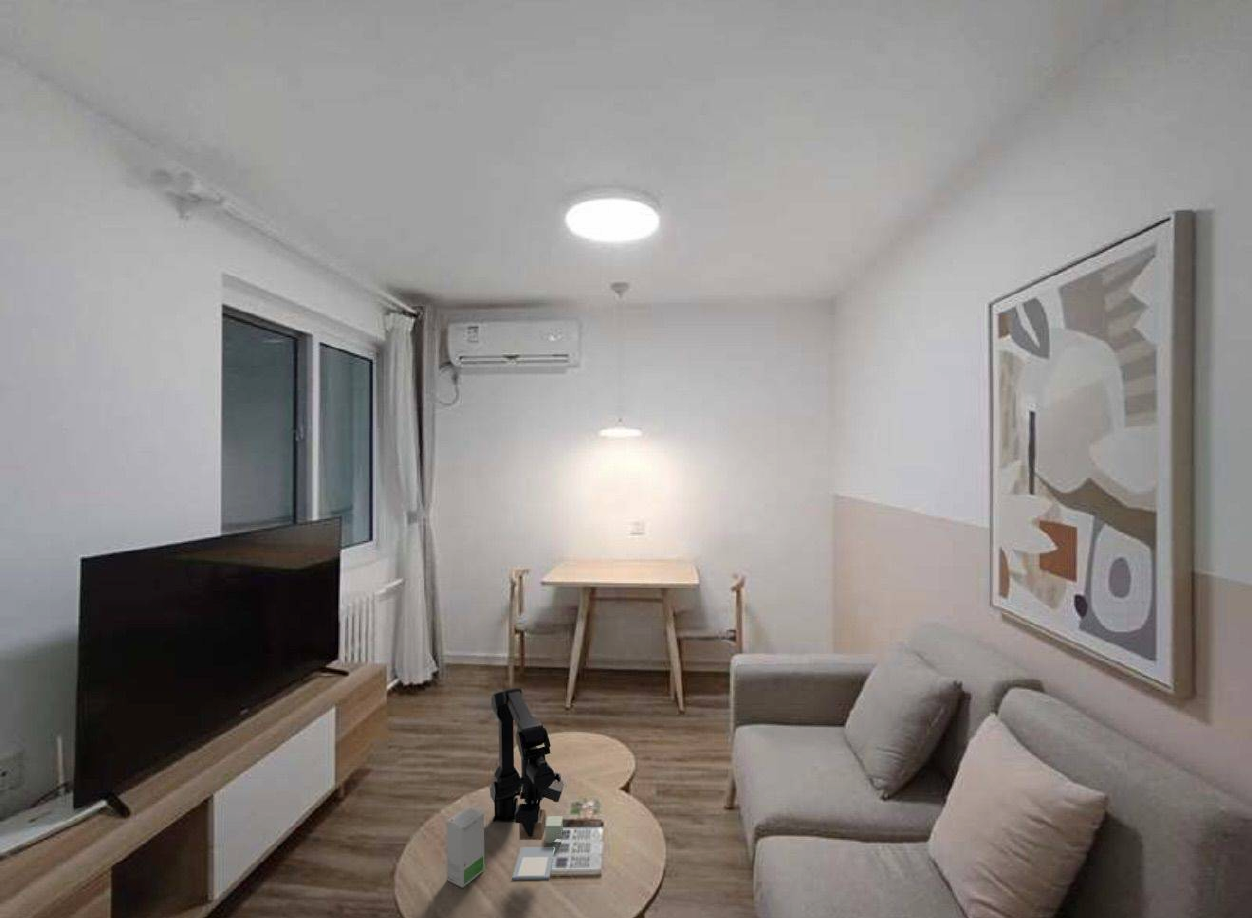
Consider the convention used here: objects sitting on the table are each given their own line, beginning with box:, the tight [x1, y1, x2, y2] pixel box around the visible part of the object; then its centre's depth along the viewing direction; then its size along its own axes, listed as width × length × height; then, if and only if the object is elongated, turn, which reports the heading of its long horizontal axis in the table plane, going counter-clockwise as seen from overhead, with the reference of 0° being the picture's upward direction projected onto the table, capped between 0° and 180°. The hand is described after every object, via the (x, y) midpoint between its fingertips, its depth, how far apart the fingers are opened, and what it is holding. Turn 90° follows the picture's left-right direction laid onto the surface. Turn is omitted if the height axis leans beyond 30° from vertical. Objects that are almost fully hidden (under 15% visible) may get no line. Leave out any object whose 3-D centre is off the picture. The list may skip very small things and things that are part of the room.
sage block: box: [544, 815, 564, 844], centre depth 168 cm, size 5×5×5 cm
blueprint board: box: [511, 846, 554, 881], centre depth 157 cm, size 10×12×1 cm
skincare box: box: [445, 806, 485, 888], centre depth 153 cm, size 8×7×16 cm
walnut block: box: [518, 808, 547, 841], centre depth 155 cm, size 6×6×4 cm
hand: (532, 828), depth 155 cm, fingers closed on walnut block, 6 cm apart
